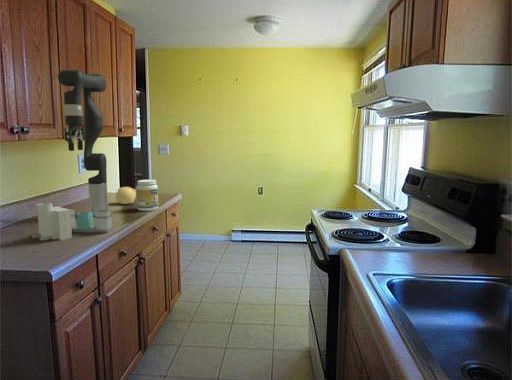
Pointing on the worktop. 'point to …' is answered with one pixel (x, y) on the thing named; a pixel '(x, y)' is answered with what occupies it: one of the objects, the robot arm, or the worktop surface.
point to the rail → (101, 222)
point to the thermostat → (53, 222)
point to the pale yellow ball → (125, 195)
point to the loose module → (85, 220)
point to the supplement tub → (147, 195)
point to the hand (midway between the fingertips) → (76, 150)
